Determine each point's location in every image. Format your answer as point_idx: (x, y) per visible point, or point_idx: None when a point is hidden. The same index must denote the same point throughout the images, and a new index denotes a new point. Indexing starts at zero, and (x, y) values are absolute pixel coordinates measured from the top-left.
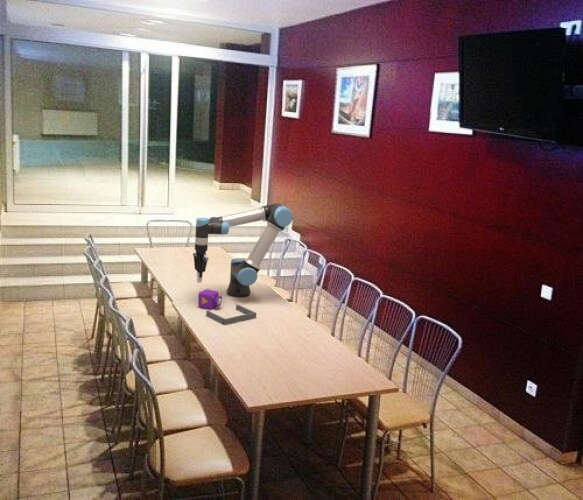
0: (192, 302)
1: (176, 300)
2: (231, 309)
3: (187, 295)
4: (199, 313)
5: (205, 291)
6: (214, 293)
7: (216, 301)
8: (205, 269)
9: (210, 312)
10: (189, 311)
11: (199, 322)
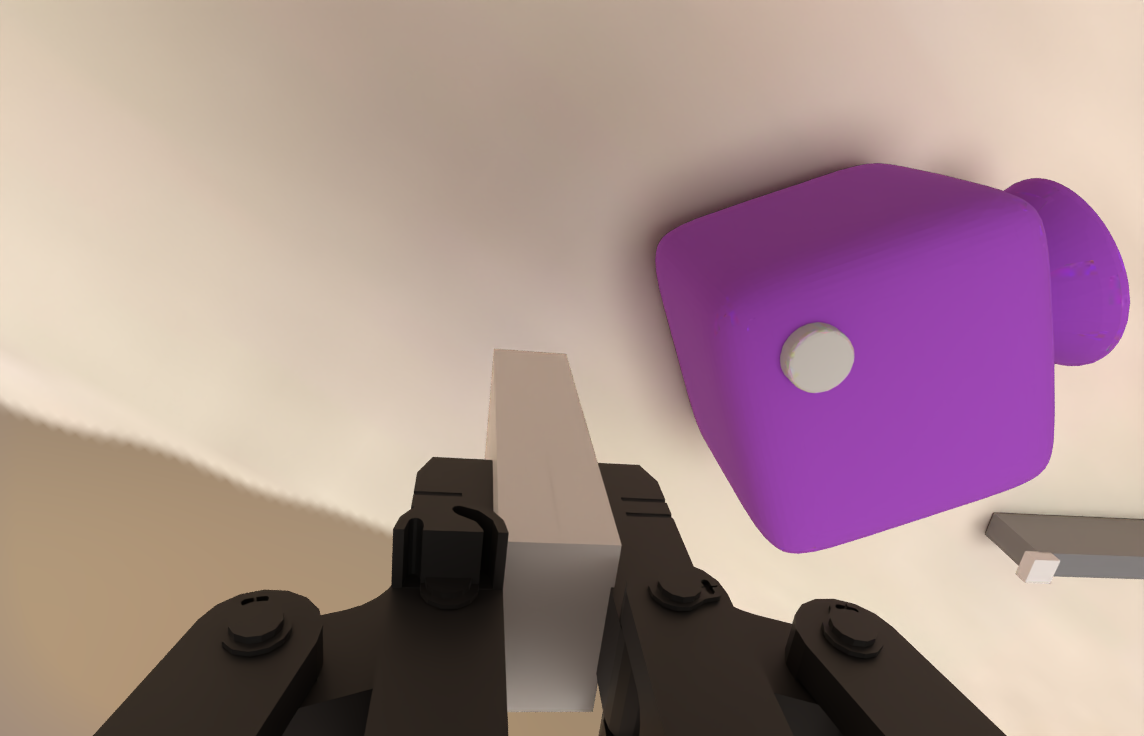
0: (488, 362)
1: (281, 487)
2: (1117, 98)
3: (109, 195)
4: (875, 543)
5: (868, 465)
6: (1053, 374)
7: (1055, 363)
8: (975, 708)
9: (1102, 571)
10: (745, 590)
11: (1041, 680)
